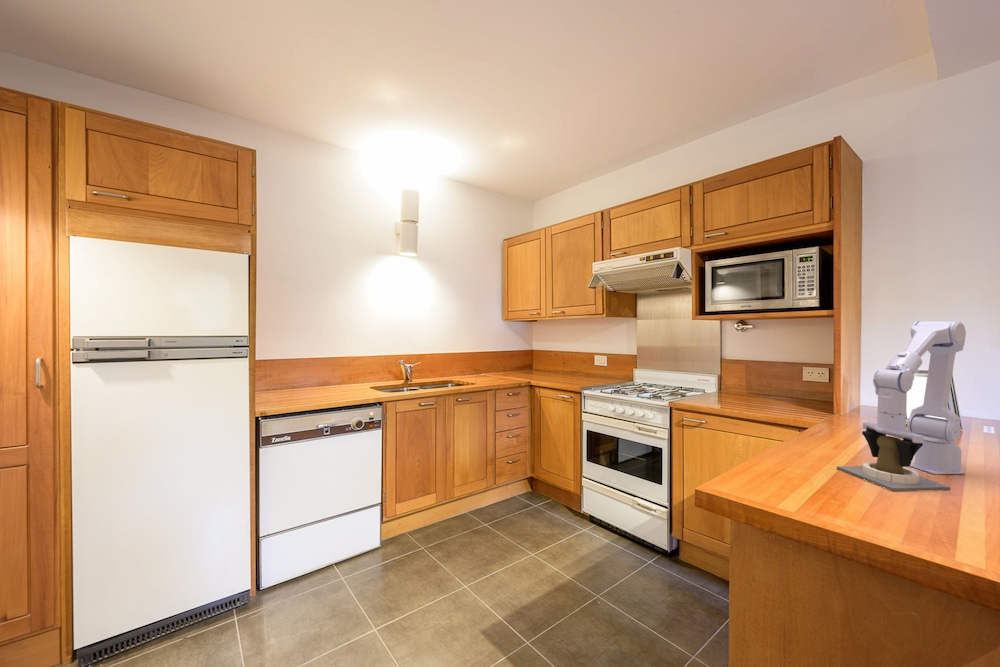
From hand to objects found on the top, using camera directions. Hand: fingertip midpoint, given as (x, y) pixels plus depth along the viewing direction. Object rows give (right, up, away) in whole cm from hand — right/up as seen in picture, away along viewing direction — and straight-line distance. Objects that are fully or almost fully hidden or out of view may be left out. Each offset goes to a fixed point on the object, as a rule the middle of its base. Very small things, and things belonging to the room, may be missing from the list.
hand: (890, 461), depth 112 cm
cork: (0, -4, 0) cm, 4 cm away
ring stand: (0, -5, 0) cm, 5 cm away
